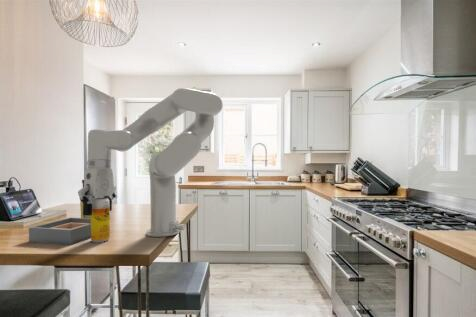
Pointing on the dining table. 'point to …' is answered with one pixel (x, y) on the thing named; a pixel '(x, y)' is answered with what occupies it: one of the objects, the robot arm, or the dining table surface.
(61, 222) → the walled box
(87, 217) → the sauce bottle
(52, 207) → the dining table surface
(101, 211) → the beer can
